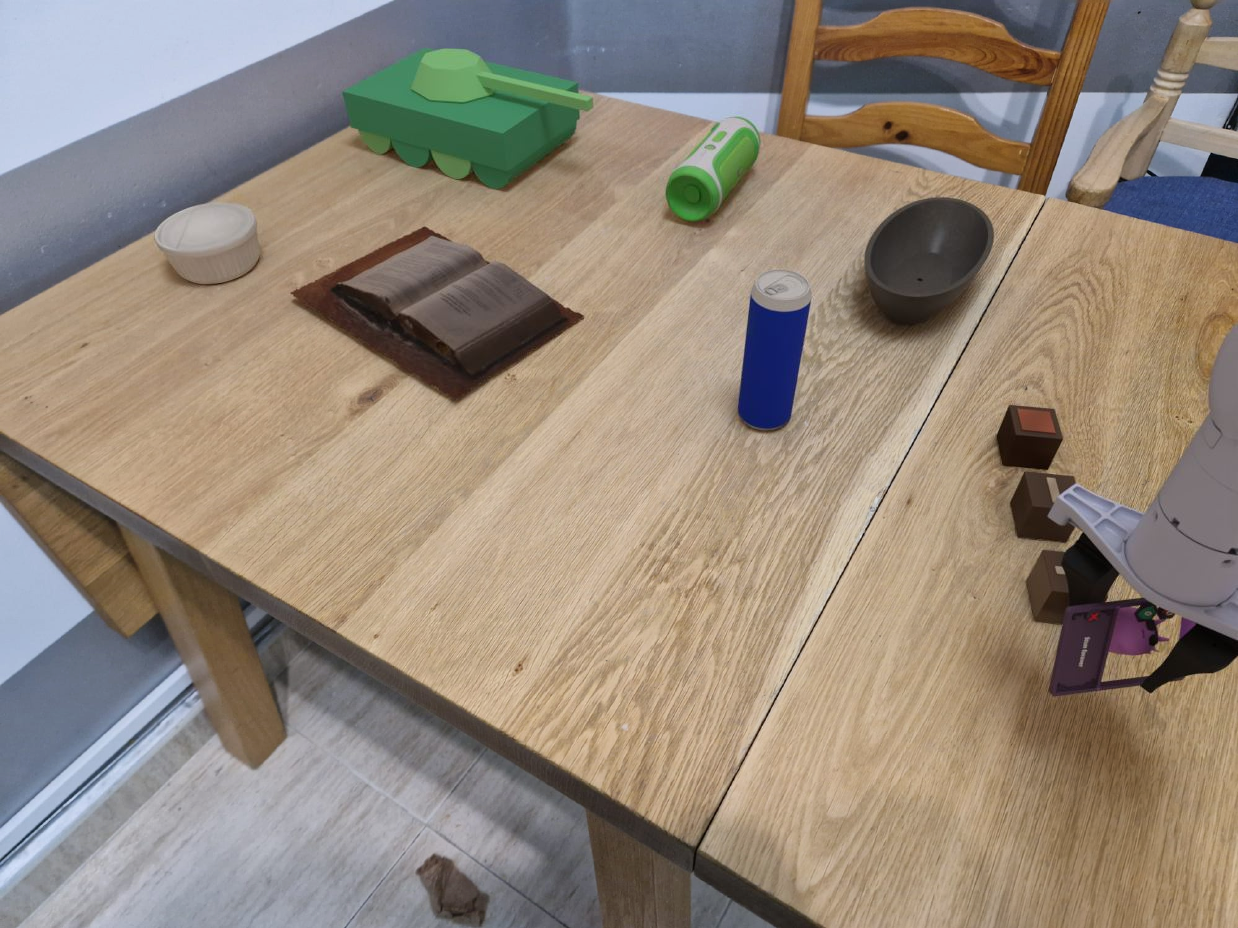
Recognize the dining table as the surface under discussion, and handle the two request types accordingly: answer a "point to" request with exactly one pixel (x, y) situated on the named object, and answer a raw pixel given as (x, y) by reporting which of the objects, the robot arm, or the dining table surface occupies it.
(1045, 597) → the brown box
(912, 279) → the bowl
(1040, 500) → the brown box
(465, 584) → the dining table surface
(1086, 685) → the game card
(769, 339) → the beverage can
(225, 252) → the ramekin
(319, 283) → the book
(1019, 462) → the brown box
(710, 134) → the speaker
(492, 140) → the toy tank
